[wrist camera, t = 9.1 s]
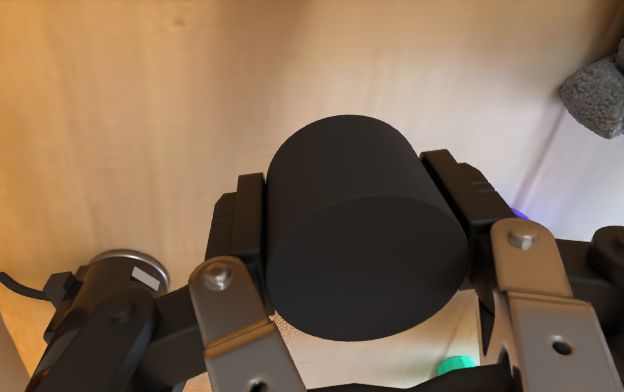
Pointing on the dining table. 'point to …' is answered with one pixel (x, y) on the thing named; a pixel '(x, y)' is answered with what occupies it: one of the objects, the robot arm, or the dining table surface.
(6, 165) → the dining table surface
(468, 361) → the candle
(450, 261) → the cylinder
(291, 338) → the dining table surface
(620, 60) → the koala plush
